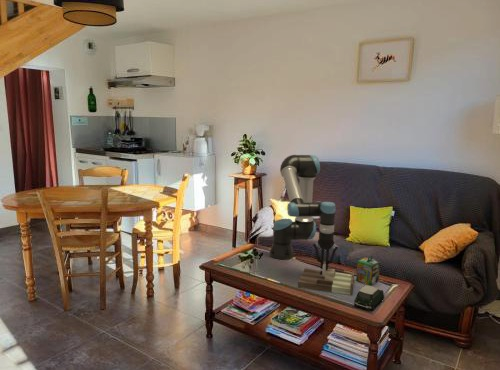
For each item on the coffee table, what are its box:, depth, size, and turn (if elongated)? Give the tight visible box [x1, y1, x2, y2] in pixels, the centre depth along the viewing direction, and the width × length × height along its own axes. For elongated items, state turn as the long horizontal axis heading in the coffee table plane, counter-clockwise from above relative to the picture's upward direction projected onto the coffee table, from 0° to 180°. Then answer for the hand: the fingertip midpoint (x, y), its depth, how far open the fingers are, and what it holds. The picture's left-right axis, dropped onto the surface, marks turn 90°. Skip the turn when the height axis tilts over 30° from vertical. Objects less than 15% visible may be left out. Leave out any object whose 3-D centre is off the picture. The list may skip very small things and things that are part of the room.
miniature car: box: [353, 284, 385, 311], centre depth 181 cm, size 9×18×8 cm, turn 142°
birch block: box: [325, 268, 336, 281], centre depth 201 cm, size 4×4×4 cm
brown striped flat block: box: [297, 268, 356, 296], centre depth 202 cm, size 20×27×6 cm
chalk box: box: [355, 254, 381, 286], centre depth 207 cm, size 9×9×15 cm
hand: (324, 275), depth 202 cm, fingers closed
